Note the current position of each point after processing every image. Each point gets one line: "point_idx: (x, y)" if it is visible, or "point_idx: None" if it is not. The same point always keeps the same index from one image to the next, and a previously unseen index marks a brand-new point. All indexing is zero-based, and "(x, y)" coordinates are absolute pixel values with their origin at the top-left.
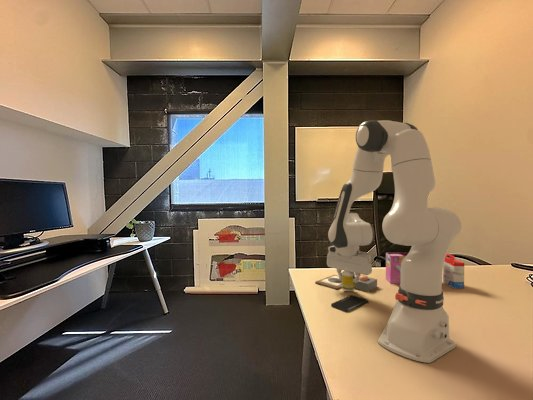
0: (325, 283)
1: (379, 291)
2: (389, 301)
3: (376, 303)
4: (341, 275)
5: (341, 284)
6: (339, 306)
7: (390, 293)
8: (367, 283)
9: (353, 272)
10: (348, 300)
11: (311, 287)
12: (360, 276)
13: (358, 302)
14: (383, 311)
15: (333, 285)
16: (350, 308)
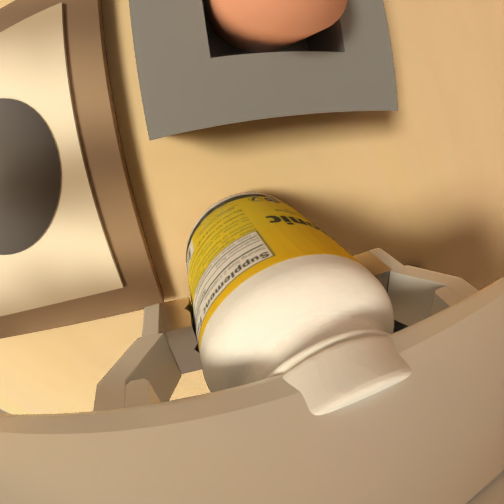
0: (29, 309)
1: (392, 34)
2: (476, 164)
3: (447, 244)
4: (190, 363)
5: (100, 199)
6: None
7: (440, 30)
8: (391, 102)
9: (384, 318)
10: None
11: (57, 392)
12: (263, 2)
13: (396, 329)
14: (471, 284)
15: (96, 292)
16: None
